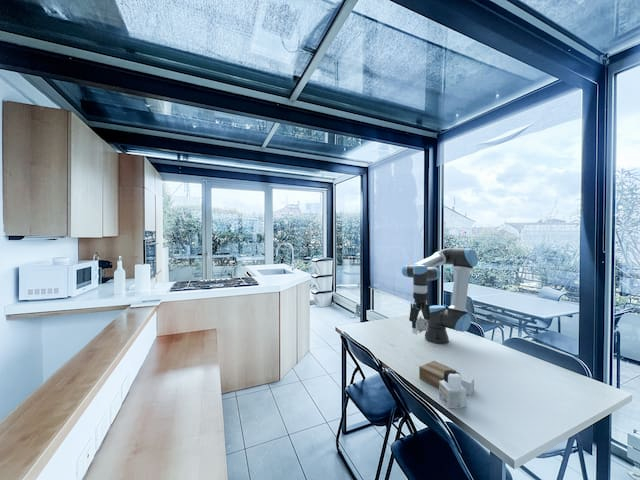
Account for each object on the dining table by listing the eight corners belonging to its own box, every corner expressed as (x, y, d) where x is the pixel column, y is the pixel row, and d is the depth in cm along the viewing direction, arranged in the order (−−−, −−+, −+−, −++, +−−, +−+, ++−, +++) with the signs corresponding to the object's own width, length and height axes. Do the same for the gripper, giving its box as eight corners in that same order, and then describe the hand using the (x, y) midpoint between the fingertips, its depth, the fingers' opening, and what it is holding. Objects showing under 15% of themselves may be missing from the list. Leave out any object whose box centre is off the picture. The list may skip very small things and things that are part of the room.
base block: (434, 372, 137) (434, 360, 137) (456, 382, 127) (456, 370, 127) (419, 378, 131) (419, 366, 131) (441, 390, 121) (441, 377, 121)
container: (438, 397, 115) (438, 368, 115) (455, 396, 116) (455, 367, 116) (448, 409, 108) (448, 377, 107) (466, 408, 108) (466, 376, 108)
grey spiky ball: (429, 337, 143) (430, 318, 143) (413, 335, 144) (413, 317, 144) (426, 331, 151) (426, 314, 152) (411, 330, 153) (411, 313, 153)
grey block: (459, 385, 125) (459, 373, 125) (474, 390, 121) (474, 377, 120) (456, 391, 120) (456, 378, 120) (470, 396, 116) (470, 383, 116)
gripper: (426, 289, 156) (426, 326, 157) (402, 293, 145) (402, 333, 146) (437, 291, 150) (437, 330, 150) (413, 295, 139) (413, 338, 139)
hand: (420, 332), depth 148 cm, fingers closed on grey spiky ball, 8 cm apart
